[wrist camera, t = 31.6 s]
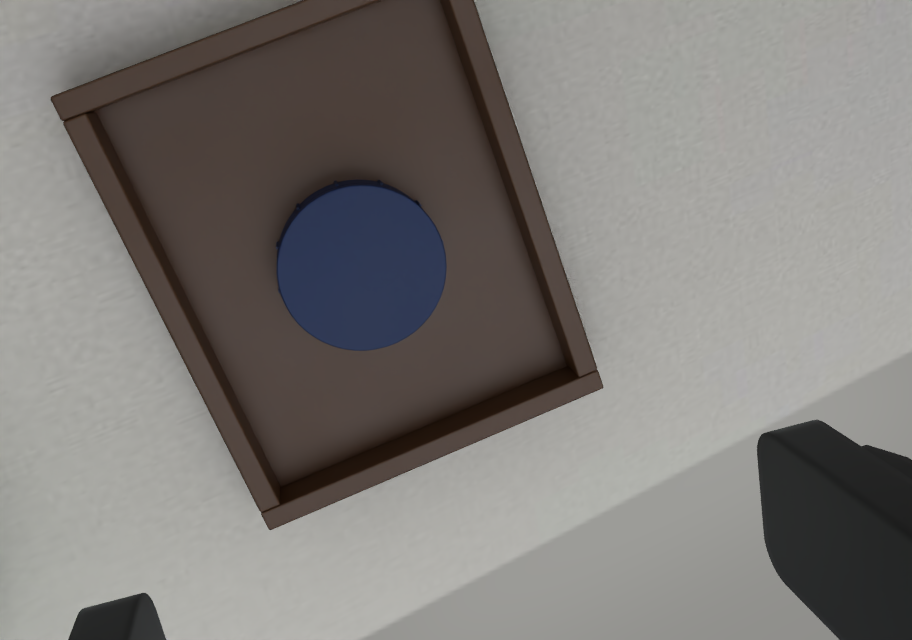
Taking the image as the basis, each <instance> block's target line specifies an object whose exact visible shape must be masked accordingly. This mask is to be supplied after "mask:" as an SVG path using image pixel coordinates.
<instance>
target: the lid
mask: <svg viewBox="0 0 912 640" xmlns="http://www.w3.org/2000/svg"><path fill="white" fill-rule="evenodd" d="M421 206H422V205H421V204H420V203H419V202H418V201H417V200H416V201H414V200H412V199H411V198H410V197H409V196H408V195H406V194H405V193H403V192H402V191H400V190H398V189H396V188H394V187H392V186H390V185H387V184H384V183H383V182H382V181H381V180H378V181H371V180H346V181H341V182H337V181H334V184H331V185H328V186H325V187H323V188H322V189H320V190H318V191H316V192H314V193H313V194H311V195H310V196H309V197H307V198H306V199H305V200H304V201H303V202H302V203H301V204H299V203H297V204H296V209H295V210H294V212H293V213H292V214H291V216H290V217H289V219H288V221H287V222H286V224H285V226H284V229H283V231H282V233H281V237H280V240H279V242H276V249H277V281H278V292H279V293H280V294H281V297H282V299H283V301H284V304H285V306H286V307H287V309H288V311H289V313H290V314H291V316H292V317H293V318H294V319H295V321H296V322H297V323H298V324H299V325H300V326H301V327H302V328H303V329H304V330H305V331H306V332H308V333H309V334H310V335H312V336H313V337H315V338H316V339H318V340H320V341H322V342H324V343H326V344H328V345H331V346H334V347H337V348H341V349H346V350H354V351H367V350H375V349H380V348H384V347H388V346H390V345H393V344H395V343H398V342H400V341H401V340H403V339H405V338H407V337H408V336H410V335H411V334H413V333H414V332H415V331H416V330H417V329H419V328H420V327H421V326H422V325H423V324H424V323H425V322H426V320H427V319H428V318H429V317H430V316H431V314H432V312H433V311H434V309H435V308H436V306H437V304H438V302H439V300H440V298H441V295H442V292H443V289H444V285H445V280H446V269H447V264H446V254H445V249H444V245H443V240H442V239H441V236H440V234H439V232H438V230H437V228H436V226H435V224H434V223H433V221H432V220H431V218H430V217H429V216H428V215H427V213H426V212H425V211H424V210H423V209H422V208H421Z"/></svg>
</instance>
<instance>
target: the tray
mask: <svg viewBox="0 0 912 640" xmlns="http://www.w3.org/2000/svg"><path fill="white" fill-rule="evenodd" d="M51 101H52V103H53V105H54V107H55V109H56V111H57V113H58V115H59V117H60V119H61V120H62V121H64V122H63V124H64V126H65V128H66V130H67V132H68V134H69V136H70V138H71V140H72V142H73V144H74V146H75V148H76V150H77V152H78V154H79V156H80V158H81V160H82V162H83V164H84V166H85V168H86V170H87V172H88V174H89V176H90V178H91V180H92V182H93V184H94V186H95V188H96V190H97V191H98V193H99V195H100V197H101V199H102V201H103V203H104V205H105V207H106V209H107V211H108V213H109V215H110V217H111V219H112V221H113V223H114V225H115V227H116V229H117V231H118V233H119V235H120V237H121V239H122V241H123V243H124V245H125V247H126V249H127V251H128V253H129V255H130V256H131V258H132V260H133V262H134V264H135V266H136V268H137V270H138V272H139V274H140V276H141V278H142V280H143V282H144V284H145V286H146V288H147V290H148V292H149V294H150V296H151V298H152V300H153V302H154V304H155V306H156V308H157V310H158V312H159V314H160V316H161V318H162V320H163V321H164V323H165V325H166V327H167V329H168V331H169V333H170V335H171V337H172V339H173V341H174V343H175V345H176V347H177V349H178V351H179V353H180V355H181V357H182V359H183V361H184V363H185V365H186V367H187V369H188V371H189V373H190V375H191V377H192V379H193V381H194V383H195V385H196V387H197V388H198V390H199V392H200V394H201V396H202V398H203V400H204V402H205V404H206V406H207V408H208V410H209V412H210V414H211V416H212V418H213V420H214V422H215V424H216V426H217V428H218V430H219V432H220V434H221V436H222V438H223V440H224V442H225V444H226V446H227V448H228V450H229V452H230V453H231V455H232V457H233V459H234V461H235V463H236V465H237V467H238V469H239V471H240V473H241V475H242V477H243V479H244V481H245V483H246V485H247V487H248V489H249V491H250V493H251V495H252V497H253V499H254V501H255V503H256V505H257V507H258V509H259V511H260V512H261V515H262V517H263V519H264V521H265V523H266V525H267V527H268V529H269V530H272V529H274V528H277V527H279V526H281V525H284V524H286V523H288V522H291V521H293V520H295V519H298V518H300V517H302V516H305V515H307V514H309V513H312V512H314V511H316V510H319V509H321V508H323V507H326V506H328V505H330V504H333V503H335V502H337V501H340V500H342V499H344V498H347V497H349V496H352V495H354V494H356V493H359V492H361V491H363V490H366V489H368V488H370V487H373V486H375V485H377V484H380V483H382V482H384V481H387V480H389V479H391V478H394V477H396V476H398V475H401V474H403V473H405V472H408V471H410V470H412V469H415V468H417V467H419V466H422V465H424V464H426V463H429V462H431V461H433V460H436V459H438V458H440V457H443V456H445V455H447V454H450V453H452V452H454V451H457V450H459V449H461V448H464V447H466V446H469V445H471V444H473V443H476V442H478V441H480V440H483V439H485V438H487V437H490V436H492V435H494V434H497V433H499V432H501V431H504V430H506V429H508V428H511V427H513V426H515V425H518V424H520V423H522V422H525V421H527V420H529V419H532V418H534V417H536V416H539V415H541V414H543V413H546V412H548V411H550V410H553V409H555V408H557V407H560V406H562V405H564V404H567V403H569V402H571V401H574V400H576V399H579V398H581V397H583V396H586V395H588V394H590V393H593V392H595V391H597V390H600V389H602V388H603V384H602V381H601V378H600V375H599V372H598V370H597V366H596V363H595V360H594V357H593V354H592V351H591V348H590V345H589V342H588V339H587V336H586V333H585V330H584V328H583V325H582V322H581V319H580V316H579V313H578V310H577V307H576V304H575V301H574V298H573V295H572V292H571V289H570V286H569V283H568V280H567V277H566V274H565V271H564V268H563V265H562V262H561V259H560V256H559V253H558V250H557V247H556V244H555V241H554V238H553V235H552V232H551V229H550V226H549V223H548V220H547V217H546V214H545V211H544V208H543V205H542V202H541V199H540V196H539V193H538V190H537V187H536V185H535V182H534V179H533V176H532V173H531V170H530V167H529V164H528V161H527V158H526V155H525V152H524V149H523V146H522V143H521V140H520V137H519V134H518V131H517V128H516V125H515V122H514V119H513V116H512V113H511V110H510V107H509V104H508V101H507V98H506V95H505V92H504V89H503V86H502V83H501V80H500V77H499V74H498V71H497V68H496V65H495V62H494V59H493V56H492V53H491V50H490V47H489V44H488V42H487V39H486V36H485V33H484V30H483V27H482V24H481V21H480V18H479V15H478V12H477V9H476V6H475V3H474V0H303V1H300V2H297V3H295V4H292V5H290V6H287V7H284V8H282V9H279V10H276V11H274V12H271V13H269V14H266V15H263V16H261V17H258V18H255V19H253V20H250V21H248V22H245V23H242V24H240V25H237V26H234V27H232V28H229V29H227V30H224V31H221V32H219V33H216V34H214V35H211V36H208V37H206V38H203V39H200V40H198V41H195V42H193V43H190V44H187V45H185V46H182V47H179V48H177V49H174V50H172V51H169V52H166V53H164V54H161V55H158V56H156V57H153V58H151V59H148V60H145V61H143V62H140V63H137V64H135V65H132V66H130V67H127V68H124V69H122V70H119V71H116V72H114V73H111V74H109V75H106V76H103V77H101V78H98V79H96V80H93V81H90V82H88V83H85V84H82V85H80V86H77V87H75V88H72V89H69V90H67V91H64V92H61V93H59V94H56V95H54V96H52V97H51ZM346 180H371V181H378V180H381V181H382V182H383V183H384V184H387V185H390V186H392V187H394V188H396V189H398V190H400V191H402V192H403V193H405V194H406V195H408V196H409V197H410V198H411V199H412V200H414V201H416V200H417V201H418V202H419V203H420V204H421V205H422V206H421V208H422V209H423V210H424V211H425V212H426V213H427V215H428V216H429V217H430V218H431V220H432V221H433V223H434V224H435V226H436V228H437V230H438V232H439V234H440V236H441V239H442V240H443V245H444V249H445V254H446V264H447V269H446V280H445V285H444V289H443V292H442V295H441V298H440V300H439V302H438V304H437V306H436V308H435V309H434V311H433V312H432V314H431V316H430V317H429V318H428V319H427V320H426V322H425V323H424V324H423V325H422V326H421V327H420V328H419V329H417V330H416V331H415V332H414V333H413V334H411V335H410V336H408V337H407V338H405V339H403V340H401V341H400V342H398V343H395V344H393V345H390V346H388V347H384V348H380V349H375V350H367V351H354V350H346V349H341V348H337V347H334V346H331V345H328V344H326V343H324V342H322V341H320V340H318V339H316V338H315V337H313V336H312V335H310V334H309V333H308V332H306V331H305V330H304V329H303V328H302V327H301V326H300V325H299V324H298V323H297V322H296V321H295V319H294V318H293V317H292V316H291V314H290V313H289V311H288V309H287V307H286V306H285V304H284V301H283V299H282V297H281V294H280V293H279V292H278V281H277V249H276V242H279V240H280V237H281V233H282V231H283V229H284V226H285V224H286V222H287V221H288V219H289V217H290V216H291V214H292V213H293V212H294V210H295V209H296V204H297V203H299V204H301V203H302V202H303V201H304V200H305V199H306V198H307V197H309V196H310V195H311V194H313V193H314V192H316V191H318V190H320V189H322V188H323V187H325V186H328V185H331V184H334V181H337V182H341V181H346Z"/></svg>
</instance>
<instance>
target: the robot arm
mask: <svg viewBox="0 0 912 640" xmlns="http://www.w3.org/2000/svg"><path fill="white" fill-rule="evenodd" d="M757 456H758V469H759V481H760V493H761V505H762V516H763V529H764V539H765V543H766V547H767V551H768V554H769V557H770V559H771V562H772V564H773V566H774V568H775V570H776V572H777V573H778V575H779V576H780V578H781V579H782V581H783V582H784V583H785V584H786V585H787V586H788V587H789V588H790V589H791V590H792V592H794V593H795V595H796V596H797V597H798V598H799V599H800V600H801V601H802V602H803V603H804V604H805V605H806V606H807V607H808V608H809V609H810V610H811V611H812V612H813V613H814V614H815V615H816V616H817V617H818V618H819V619H820V620H821V621H822V622H823V623H824V624H825V625H826V626H827V627H828V628H829V629H830V630H831V631H832V632H833V633H834V634H835V635H836V636H837V637H838V638H839V640H912V460H911V459H909V458H908V457H904V456H901V455H898V454H895V453H892V452H888V451H885V450H882V449H878V448H875V447H872V446H869V445H865V446H860V445H858V444H857V443H855V442H853V441H852V440H850V439H849V438H847V437H846V436H844V435H843V434H841V433H839V432H838V431H837V430H835V429H833V428H832V427H830V426H829V425H827V424H826V423H824V422H822V421H819V420H812V421H809V422H805V423H801V424H797V425H793V426H790V427H785V428H782V429H778V430H774V431H770V432H767V433H764V434H762V435H761V436H760V438H759V440H758V445H757ZM68 640H166V638H165V635H164V632H163V629H162V626H161V623H160V620H159V617H158V614H157V611H156V608H155V606H154V604H153V601H152V600H151V598H150V597H149V595H148V594H146V593H141V594H137V595H133V596H129V597H126V598H122V599H118V600H114V601H110V602H106V603H102V604H99V605H95V606H91V607H87V608H84V609H82V610H81V611H80V612H79V614H78V616H77V618H76V621H75V623H74V626H73V629H72V631H71V634H70V637H69V639H68Z"/></svg>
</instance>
